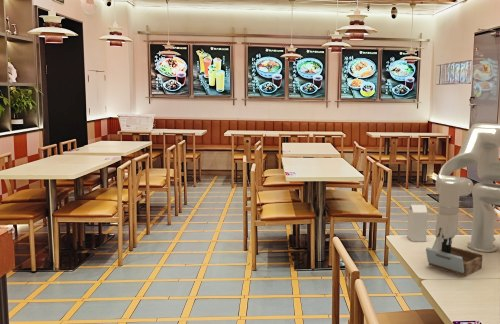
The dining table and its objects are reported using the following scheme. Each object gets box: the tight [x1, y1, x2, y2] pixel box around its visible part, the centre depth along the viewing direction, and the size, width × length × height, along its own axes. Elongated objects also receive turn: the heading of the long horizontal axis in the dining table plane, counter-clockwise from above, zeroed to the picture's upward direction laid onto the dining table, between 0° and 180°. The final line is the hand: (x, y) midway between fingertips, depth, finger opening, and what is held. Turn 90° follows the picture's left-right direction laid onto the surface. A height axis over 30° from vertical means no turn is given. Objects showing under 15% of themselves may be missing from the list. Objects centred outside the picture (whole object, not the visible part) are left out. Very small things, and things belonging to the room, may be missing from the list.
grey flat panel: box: [425, 247, 464, 273], centre depth 193 cm, size 2×15×7 cm, turn 39°
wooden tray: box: [428, 246, 483, 277], centre depth 199 cm, size 14×16×6 cm
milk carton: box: [406, 202, 428, 242], centre depth 235 cm, size 7×7×19 cm
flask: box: [431, 236, 442, 250], centre depth 217 cm, size 7×7×10 cm
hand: (445, 253), depth 193 cm, fingers closed
